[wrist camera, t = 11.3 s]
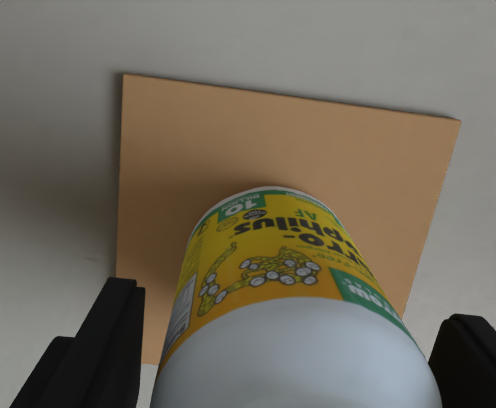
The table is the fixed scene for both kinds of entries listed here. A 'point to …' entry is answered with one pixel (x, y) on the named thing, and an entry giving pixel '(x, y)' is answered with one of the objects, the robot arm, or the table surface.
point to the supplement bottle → (284, 316)
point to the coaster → (269, 177)
